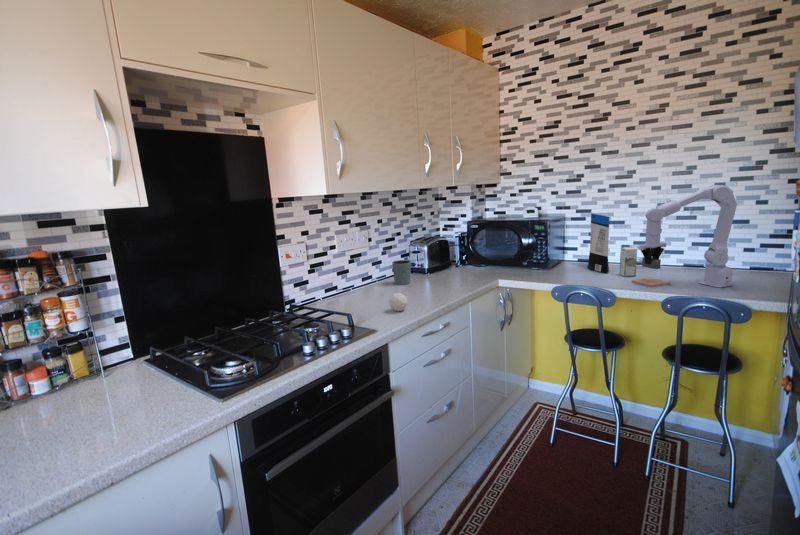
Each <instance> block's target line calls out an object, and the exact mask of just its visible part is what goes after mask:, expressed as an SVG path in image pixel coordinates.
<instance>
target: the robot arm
mask: <svg viewBox="0 0 800 535" xmlns="http://www.w3.org/2000/svg"><path fill="white" fill-rule="evenodd" d="M700 200H711V201H714V202H715V203H717V205H719V207H720V211H719V214H718V217H717V223H716V225H715V230H714V234H713V238H712V242H711V243H710V244H709V246H708V249H707V250H706V251H705V252H704V259H705V260H706V262H705V263H704V264H705V266H704V275H703V281H699V282H698V284H699V285H700V284H701V285H705V286H710V287H715V288H725V287H730V286H733V284H732V280H733V279H732V278H733V269H732V268H731V267H729V266H727V265H726V264H727V263H728V261H729V255H728V251H729V249H728V245H727V244H728V241H729V237H730V234H731V228H732V226H733V222H734V217H735V214H736V210H737V206H738V202H737V201H736V198H735V196H734V191H733V189H731V188H730V187H729V186H728V185H722V184H721V185H718V184H712V185H710V186H707V187H704V188H702V189H699V190H697V191H695V192H693V193H691V194H688V195H686V196H685V197H683V198H680V199H678V200H677V199H672V200H671V199H668V200H667V201H666V202H665V203H662V204H661V205H656V206H655V207H656V208H654V207H653V208H650V209H648V210H647V211H646V213H645V218H646V227H645V228H646V229H645V242H644V243H643V244H640V245H638V248H637V251H638V250H640V252H641V253H642V255H643V257H644V259H645V263H646V264H649V265H650V264H651V259H652V258H655V259H660V257H661V255H662V254H663V252H664V251H665V248H666V247H667V242H661V230H662V229H661V228H662V221H663V219H664V218H666V217H670V216H671V215H673V214H676V213H678V212H680V211H681V209H682V207H684V206H685V207H686V206H687V205H690V204H692V203H695V202H698V201H700Z"/></svg>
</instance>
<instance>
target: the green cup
mask: <svg viewBox="0 0 800 535" xmlns="http://www.w3.org/2000/svg"><path fill="white" fill-rule="evenodd" d="M391 262H392V271H393V279H394V282H393V283H394V284H395V285H396V286H406V285H410V284H411V268H412V267H411V266H412V263H411V262H412V261H411V260H407V259H400V260H399V259H398V260H394V261H391Z"/></svg>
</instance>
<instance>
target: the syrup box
mask: <svg viewBox="0 0 800 535" xmlns="http://www.w3.org/2000/svg"><path fill="white" fill-rule="evenodd" d="M619 258H620V259H619V275H620V276H622V277H636V276H637V273H636V272H637V259H638V248H637V247H635V246H622V247H621V246H620V256H619Z"/></svg>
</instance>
